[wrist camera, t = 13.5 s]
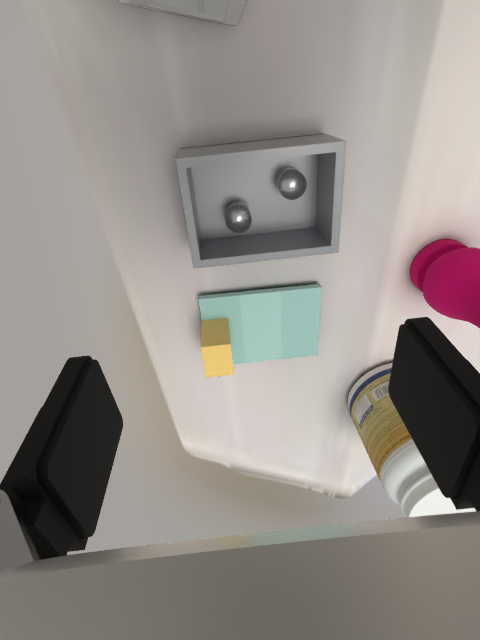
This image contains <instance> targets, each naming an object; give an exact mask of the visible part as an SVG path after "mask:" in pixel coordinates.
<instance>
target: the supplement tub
mask: <svg viewBox="0 0 480 640" xmlns="http://www.w3.org/2000/svg"><path fill="white" fill-rule="evenodd" d="M392 364H393V363H390V364H386V365H382V366H379V367H377V368H375V369H373V370H371V371H369V372H368V373H366V374H365V375H364V376H362V377H361V378H360V379H359V380H358V381H357V382H356V383H355V385H354V386H353V387H352V389H351V391H350V393H349V396H348V409H349V413H350V416H351V418H352V420H353V422H354V424H355V426H356V429H357V431H358V433H359V435H360V438H361V440H362V442H363V444H364V446H365V449H366V451H367V453H368V455H369V457H370V460H371V462H372V464H373V466H374V468H375V471H376V473H377V475H378V477H379V479H380V481H381V484H382V487H383V488H384V490H385V492H386V494H387V495H388V496H389V497H390V499H392V500H393V501H394V502H395V503H396V504H398V505H400V506H401V510H402V512H403V514H404V515H405V516H406V517H416V516H427V515H439V514H451V513H463V512H475V511H476V510H475V508H468V509H459V510H456V508H455V506H454V504H453V502H452V501H451V499H450V498H446V497H444V495H443V494H442V493H441V491H440V489H439V487H438V486H437V484H436V482H435V480H434V478H433V476H432V474H431V473H430V471H429V469H428V467H427V465H426V463H425V462H424V460H423V458H422V456H421V454H420V452H419V450H418V449H417V447H416V445H415V443H414V441H413V439H412V438H411V436H410V434H409V432H408V430H407V428H406V426H405V425H404V423H403V421H402V419H401V417H400V415H399V414H398V412H397V410H396V408H395V406H394V404H393V402H392V401H391V399H390V396H389V392H388V386H389V380H390V375H391V369H392Z"/></svg>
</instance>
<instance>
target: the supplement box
mask: <svg viewBox="0 0 480 640" xmlns="http://www.w3.org/2000/svg"><path fill="white" fill-rule="evenodd" d="M118 1H119V2H121V3H125V4H129V5H134V6H138V7H143V8H148V9H153V10H158V11H163V12H169V13H174V14H179V15H184V16H189V17H194V18H199V19H204V20H208V21H213V22H218V23H223V24H228V25H234V26H237V25H238V24H239V20H240V18H241V15H242V12H243V9H244V6H245V4H246V1H247V0H118Z"/></svg>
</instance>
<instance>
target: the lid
mask: <svg viewBox="0 0 480 640" xmlns="http://www.w3.org/2000/svg"><path fill="white" fill-rule="evenodd" d="M321 289H322V287H321V285H320V284H313V285H303V286H293V287H283V288H273V289H263V290H253V291H243V292H233V293H223V294H213V295H203V296H199V299H198V300H199V306H200V313H201V319H202V328H201V351H202V357H203V363H204V369H205V375H206V377H214V376H224V375H233V374H234V368H233V364H239V363H249V362H258V361H268V360H278V359H287V358H297V357H306V356H316V355H318V342H319V324H320V307H321Z"/></svg>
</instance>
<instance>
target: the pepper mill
mask: <svg viewBox="0 0 480 640" xmlns="http://www.w3.org/2000/svg"><path fill="white" fill-rule="evenodd" d="M411 279H412V282H413V283H414V285H415V286H416V287H417V288H418V289H420V290H421V291H422V292H423V295H424V298H425V300H426V302H427V303H428V304H429V306H431V307H432V308H433V309H434V310H436V311H437V312H439V313H440V314H442V315H445V316H447V317H450V318H453V319H458V320H463V321H467V322H470V323H472V324H474V325H476V326H477V327H479V328H480V249H478V248H468V247H466V246H465V245H463V244H461V243H460V242H458V241H456V240H452V239H444V240H439V241H436V242H433V243H431V244H429V245H428V246H427V247H425V248H424V249H422V251H421V252H420V253H419V254H418V255H417V256H416V258H415V260H414V261H413V264H412V267H411Z"/></svg>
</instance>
